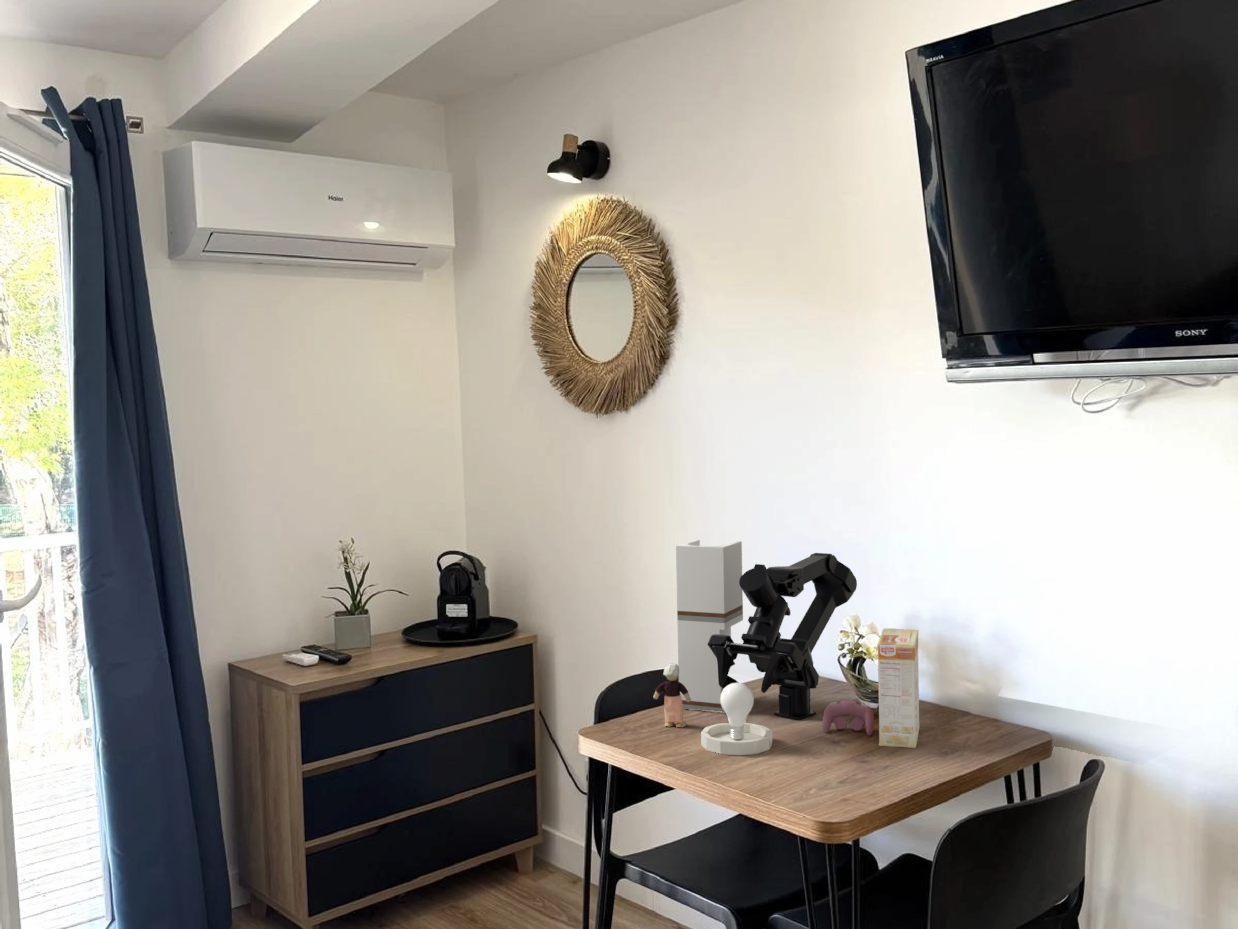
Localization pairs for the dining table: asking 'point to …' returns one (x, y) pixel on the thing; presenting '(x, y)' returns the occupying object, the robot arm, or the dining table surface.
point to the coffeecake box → (898, 688)
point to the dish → (722, 743)
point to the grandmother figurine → (672, 696)
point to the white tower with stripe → (705, 615)
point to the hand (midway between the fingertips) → (741, 688)
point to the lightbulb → (737, 707)
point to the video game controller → (848, 708)
